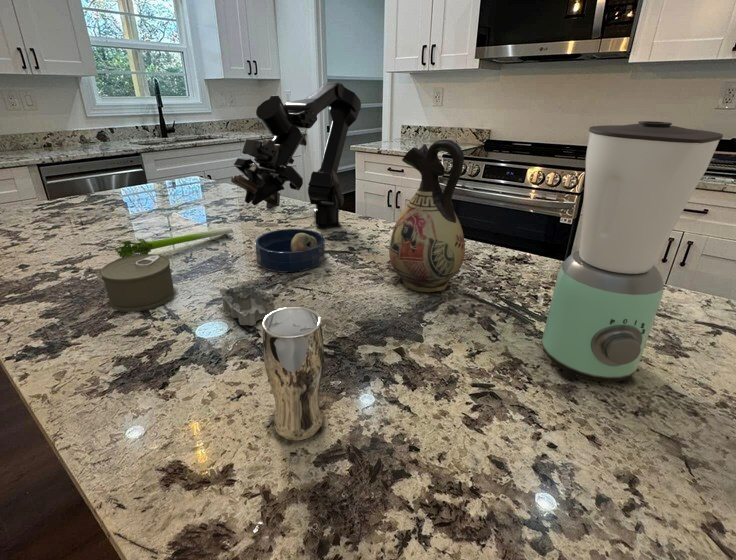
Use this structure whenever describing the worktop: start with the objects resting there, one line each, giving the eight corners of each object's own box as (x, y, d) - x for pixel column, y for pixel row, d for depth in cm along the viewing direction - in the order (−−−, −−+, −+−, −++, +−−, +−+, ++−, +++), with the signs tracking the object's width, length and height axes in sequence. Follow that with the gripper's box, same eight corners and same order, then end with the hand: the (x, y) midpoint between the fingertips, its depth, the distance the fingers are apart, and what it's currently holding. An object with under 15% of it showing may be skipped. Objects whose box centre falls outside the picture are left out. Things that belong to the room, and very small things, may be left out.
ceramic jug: (372, 284, 88) (376, 137, 76) (414, 263, 99) (424, 130, 86) (441, 312, 78) (459, 146, 65) (480, 285, 88) (502, 138, 76)
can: (94, 306, 80) (85, 273, 77) (143, 280, 90) (136, 250, 87) (143, 317, 76) (135, 283, 73) (188, 289, 86) (182, 258, 83)
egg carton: (279, 317, 76) (278, 298, 74) (240, 330, 72) (237, 310, 70) (256, 294, 84) (254, 276, 82) (219, 305, 80) (216, 286, 78)
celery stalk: (237, 243, 115) (123, 268, 94) (223, 240, 119) (111, 264, 98) (234, 221, 113) (117, 241, 92) (220, 219, 118) (106, 238, 96)
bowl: (318, 244, 110) (317, 226, 108) (331, 269, 95) (330, 249, 93) (255, 250, 106) (253, 231, 104) (259, 276, 92) (257, 255, 90)
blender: (662, 401, 56) (773, 130, 42) (561, 396, 57) (635, 129, 43) (597, 326, 74) (659, 116, 59) (520, 323, 74) (562, 115, 60)
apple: (277, 241, 98) (287, 232, 93) (305, 235, 102) (316, 226, 98) (286, 265, 97) (297, 257, 92) (314, 258, 102) (325, 249, 97)
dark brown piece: (269, 196, 103) (230, 173, 92) (280, 193, 101) (241, 169, 90) (268, 209, 102) (228, 187, 91) (279, 206, 100) (240, 183, 89)
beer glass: (273, 404, 56) (263, 306, 49) (325, 401, 56) (322, 304, 50) (267, 445, 49) (256, 339, 43) (326, 442, 50) (323, 336, 44)
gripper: (236, 122, 98) (201, 176, 95) (290, 127, 87) (253, 189, 84) (265, 152, 107) (234, 203, 103) (317, 161, 96) (285, 218, 93)
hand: (249, 203), depth 96 cm, fingers closed on dark brown piece, 2 cm apart
